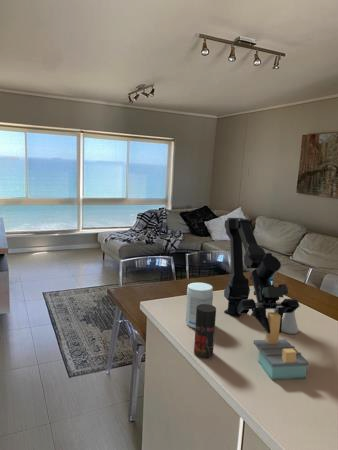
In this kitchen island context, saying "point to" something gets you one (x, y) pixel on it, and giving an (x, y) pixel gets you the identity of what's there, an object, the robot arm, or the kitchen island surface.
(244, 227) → the robot arm
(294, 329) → the flask
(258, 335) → the kitchen island surface
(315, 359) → the kitchen island surface
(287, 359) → the gray board with blocks
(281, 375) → the tub
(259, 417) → the kitchen island surface
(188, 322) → the supplement tub
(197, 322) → the deodorant
